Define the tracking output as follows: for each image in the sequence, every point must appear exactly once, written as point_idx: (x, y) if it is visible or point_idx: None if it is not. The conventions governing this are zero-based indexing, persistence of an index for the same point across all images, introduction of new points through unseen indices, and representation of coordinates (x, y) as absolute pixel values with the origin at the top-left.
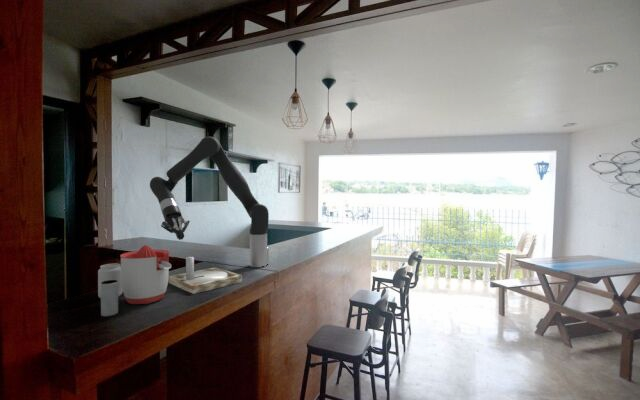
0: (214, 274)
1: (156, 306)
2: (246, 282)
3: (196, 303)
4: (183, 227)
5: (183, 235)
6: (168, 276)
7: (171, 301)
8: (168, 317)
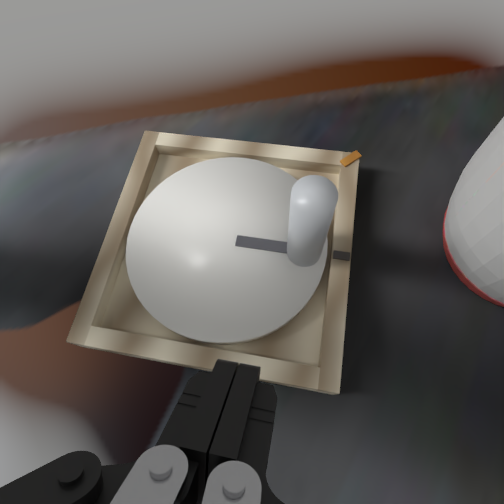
0: (189, 225)
1: None
2: None
3: (395, 99)
4: (85, 494)
5: (201, 381)
6: (471, 158)
7: (442, 166)
8: (500, 74)
